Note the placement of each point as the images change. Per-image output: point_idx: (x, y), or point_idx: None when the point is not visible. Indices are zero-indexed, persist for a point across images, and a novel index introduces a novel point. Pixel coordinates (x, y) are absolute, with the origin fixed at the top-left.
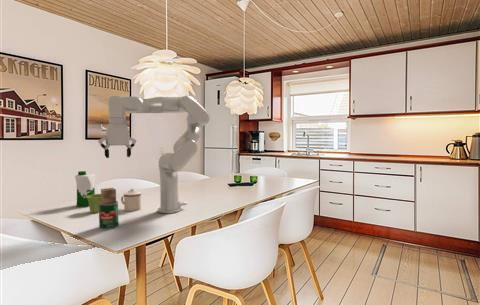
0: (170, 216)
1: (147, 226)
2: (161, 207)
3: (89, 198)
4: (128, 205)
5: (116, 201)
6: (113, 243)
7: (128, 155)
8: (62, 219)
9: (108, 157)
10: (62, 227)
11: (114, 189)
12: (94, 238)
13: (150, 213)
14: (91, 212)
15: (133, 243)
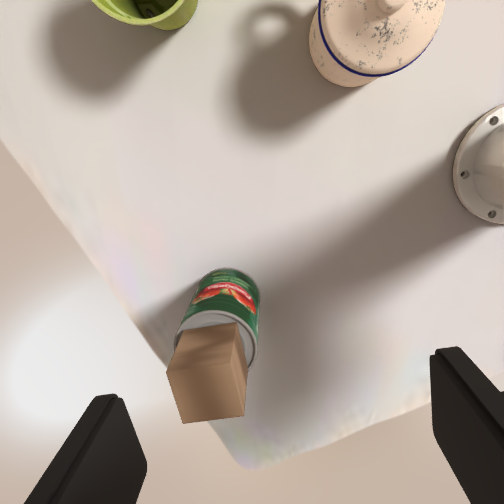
0: (470, 266)
1: (349, 349)
2: (480, 178)
3: (99, 2)
4: (330, 74)
5: (251, 335)
6: (237, 439)
7: (444, 451)
8: (34, 99)
9: (139, 473)
10: (70, 232)
11: (236, 414)
12: None
13: (412, 175)
14: (142, 15)
15: (283, 458)
